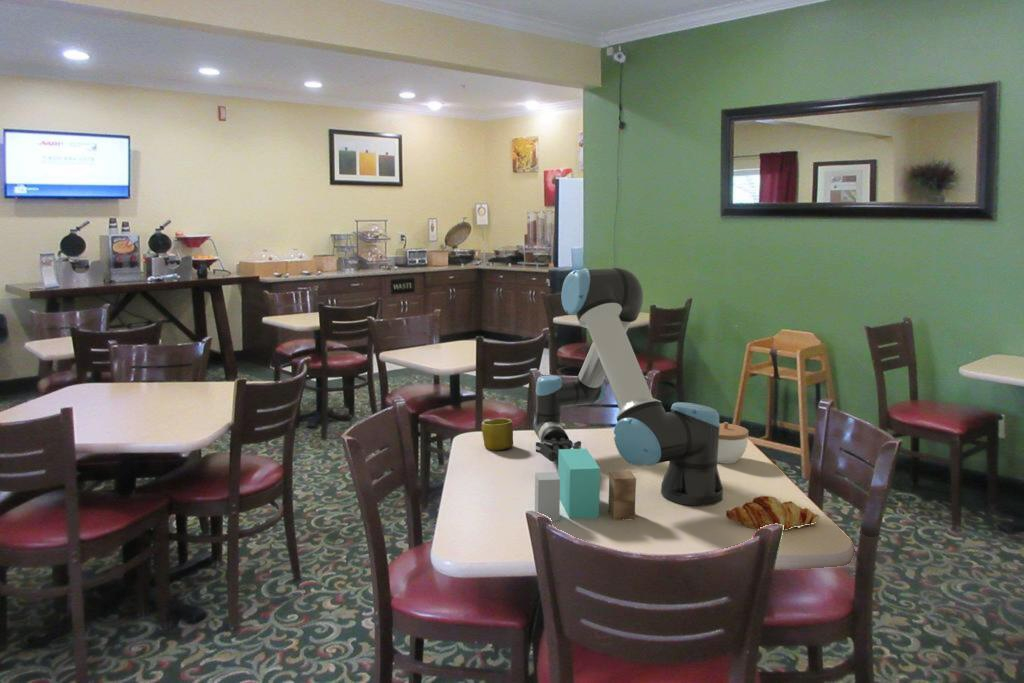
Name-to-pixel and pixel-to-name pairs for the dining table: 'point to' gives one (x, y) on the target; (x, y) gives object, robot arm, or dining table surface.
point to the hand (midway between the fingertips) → (569, 465)
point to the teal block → (579, 483)
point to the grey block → (547, 494)
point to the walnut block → (622, 495)
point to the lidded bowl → (731, 443)
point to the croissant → (771, 513)
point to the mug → (497, 433)
